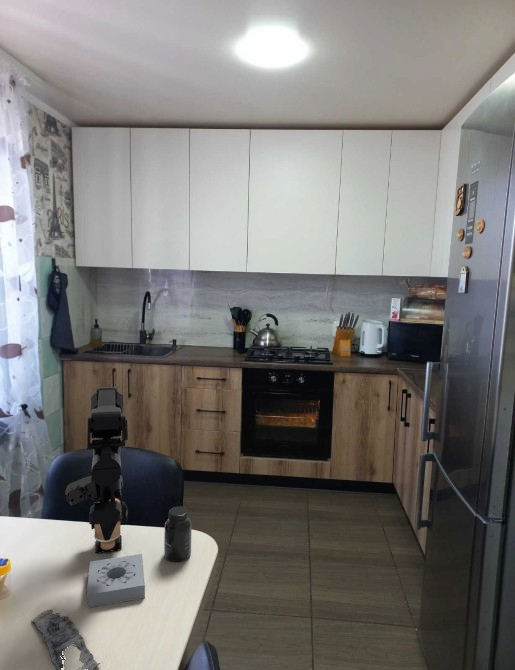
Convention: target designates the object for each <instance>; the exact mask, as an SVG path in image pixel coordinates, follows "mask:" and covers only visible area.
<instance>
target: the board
mask: <svg viewBox="0 0 515 670" xmlns="http://www.w3.org/2000/svg"><path fill="white" fill-rule="evenodd" d="M143 561H144V560H143V553H139V554H132V555H127V556H126V555H125V556H120V557H111V558H106V559H97V560H90V561H89V567H88V568H89V570H88V578H87V579H88V580H87V590H86V609H88V608H95V607H99V606H106V605H112V604H117V603H123V602H130V601H133V600H139V599H140V600H141V599H145V598H146V583H145V572H144V571H145V570H144V562H143Z"/></svg>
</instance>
